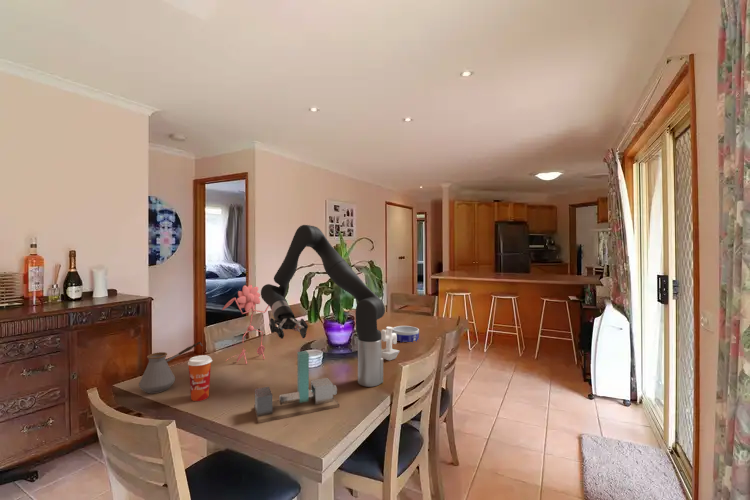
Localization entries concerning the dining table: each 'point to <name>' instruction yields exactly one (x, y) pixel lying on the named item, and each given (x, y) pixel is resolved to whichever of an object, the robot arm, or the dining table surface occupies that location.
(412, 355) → the dining table surface
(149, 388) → the coffee pot
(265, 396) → the sleeve and socket
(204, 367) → the paper cup
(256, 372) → the dining table surface
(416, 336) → the dog bowl
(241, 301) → the figurine
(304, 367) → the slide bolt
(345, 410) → the dining table surface
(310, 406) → the walnut board
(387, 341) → the figurine
